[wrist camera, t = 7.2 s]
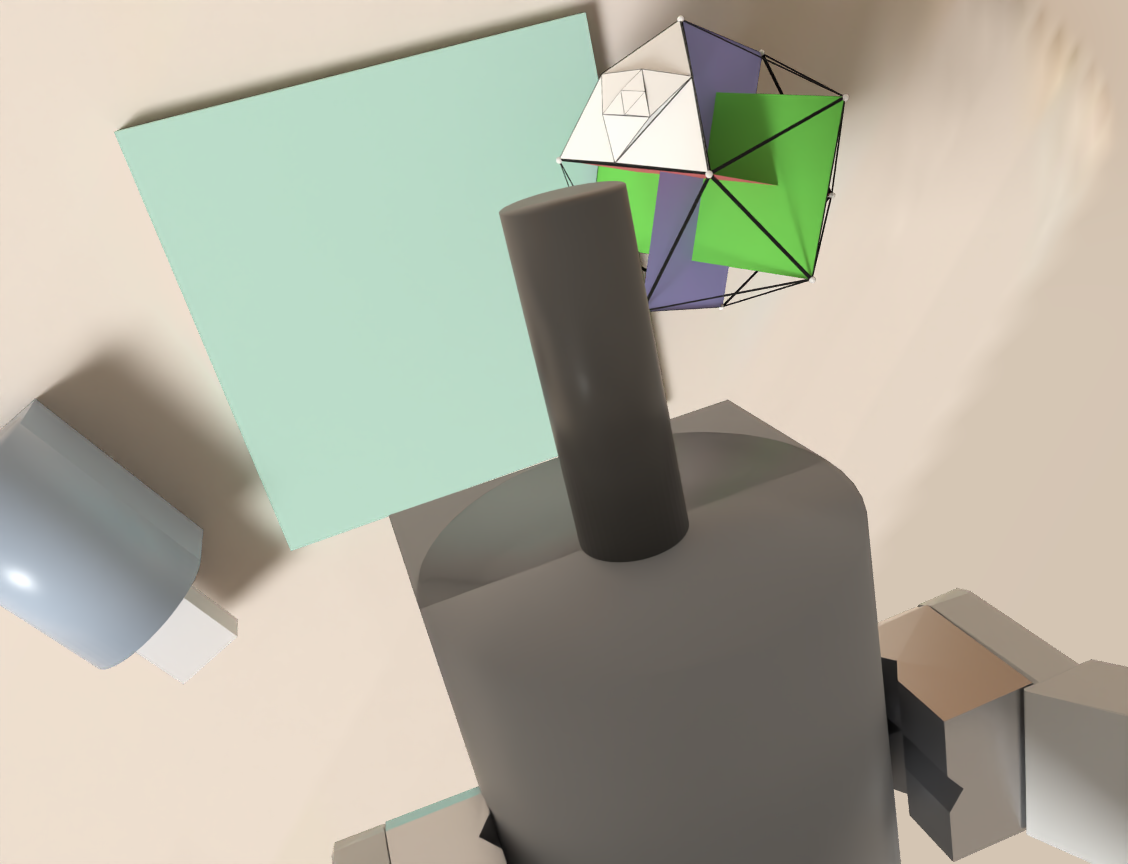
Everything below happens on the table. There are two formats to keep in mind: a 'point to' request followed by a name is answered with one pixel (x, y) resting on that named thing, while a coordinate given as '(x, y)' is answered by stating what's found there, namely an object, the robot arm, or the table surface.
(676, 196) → the geometric puzzle
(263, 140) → the teal mat
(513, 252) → the gray plug
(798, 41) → the table surface
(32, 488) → the blue plug
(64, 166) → the table surface
